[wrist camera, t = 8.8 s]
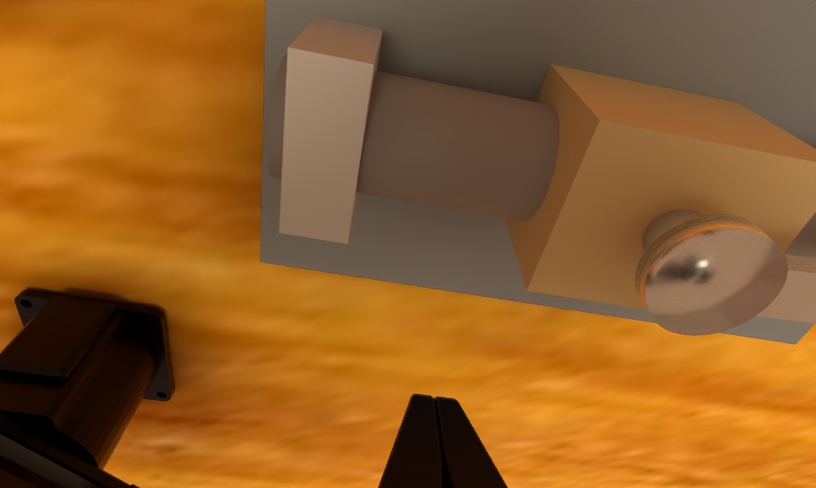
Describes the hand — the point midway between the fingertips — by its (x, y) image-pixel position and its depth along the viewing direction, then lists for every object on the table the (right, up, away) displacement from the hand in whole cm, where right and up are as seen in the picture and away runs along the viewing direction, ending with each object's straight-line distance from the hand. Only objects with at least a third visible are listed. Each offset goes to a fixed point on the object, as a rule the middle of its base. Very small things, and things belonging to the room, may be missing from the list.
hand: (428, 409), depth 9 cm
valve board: (+7, +7, +9) cm, 13 cm away
